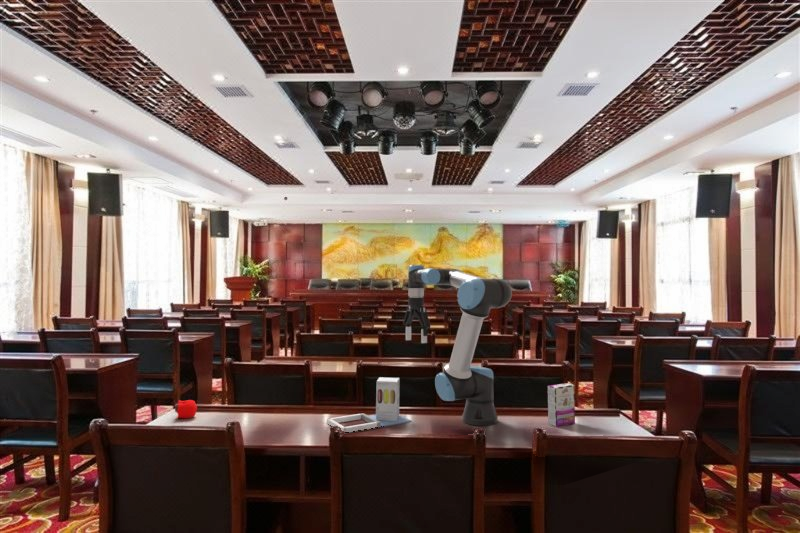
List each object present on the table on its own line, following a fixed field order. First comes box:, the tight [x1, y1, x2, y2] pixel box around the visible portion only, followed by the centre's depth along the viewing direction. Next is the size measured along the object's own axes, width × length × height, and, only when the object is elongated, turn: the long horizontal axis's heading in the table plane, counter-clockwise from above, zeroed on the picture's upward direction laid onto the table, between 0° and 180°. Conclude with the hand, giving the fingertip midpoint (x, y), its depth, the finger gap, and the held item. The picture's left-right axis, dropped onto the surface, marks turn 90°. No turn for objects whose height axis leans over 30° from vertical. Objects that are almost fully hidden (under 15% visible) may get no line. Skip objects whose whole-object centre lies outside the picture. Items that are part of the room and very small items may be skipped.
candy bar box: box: [547, 382, 576, 428], centre depth 204 cm, size 11×5×16 cm, turn 117°
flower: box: [176, 399, 198, 419], centre depth 211 cm, size 8×8×8 cm
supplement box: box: [375, 376, 401, 421], centre depth 209 cm, size 10×9×17 cm
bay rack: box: [326, 412, 412, 433], centre depth 204 cm, size 16×32×2 cm, turn 122°
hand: (416, 341), depth 230 cm, fingers open, 13 cm apart
